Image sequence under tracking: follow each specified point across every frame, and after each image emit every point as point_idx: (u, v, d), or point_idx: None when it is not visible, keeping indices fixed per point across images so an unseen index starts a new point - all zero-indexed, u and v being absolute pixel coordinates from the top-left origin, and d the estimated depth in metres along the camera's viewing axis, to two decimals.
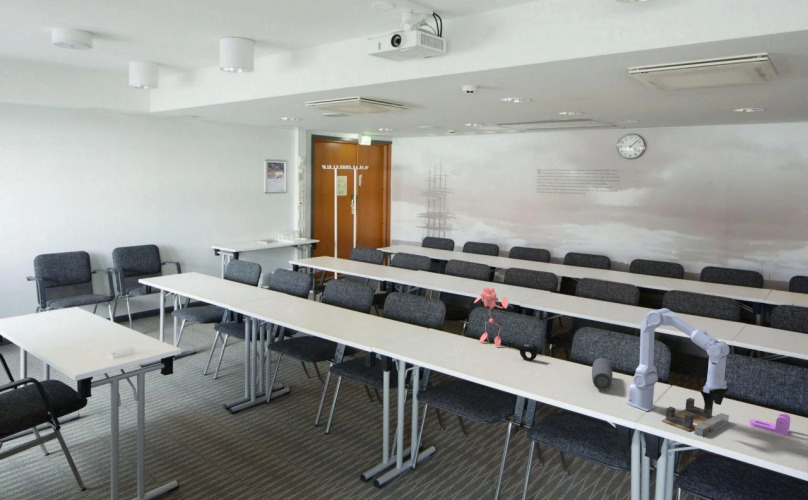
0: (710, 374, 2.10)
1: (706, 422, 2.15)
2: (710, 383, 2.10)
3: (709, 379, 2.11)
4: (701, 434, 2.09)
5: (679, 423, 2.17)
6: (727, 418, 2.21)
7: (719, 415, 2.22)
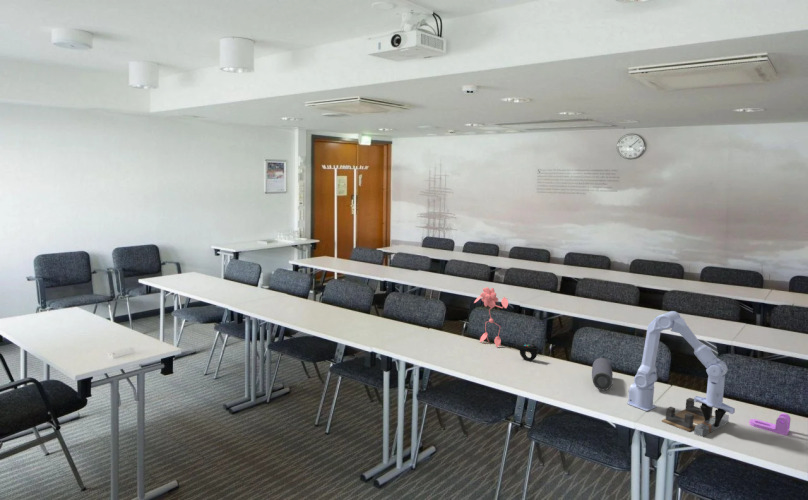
0: None
1: (706, 422, 2.15)
2: None
3: None
4: (701, 434, 2.09)
5: (679, 423, 2.17)
6: (727, 418, 2.21)
7: None
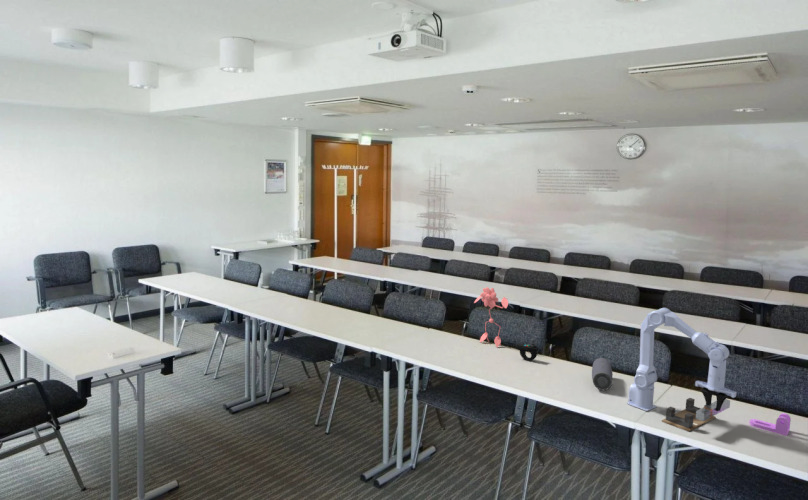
0: None
1: (707, 407, 2.14)
2: None
3: None
4: (702, 418, 2.08)
5: (679, 423, 2.17)
6: (729, 403, 2.21)
7: None
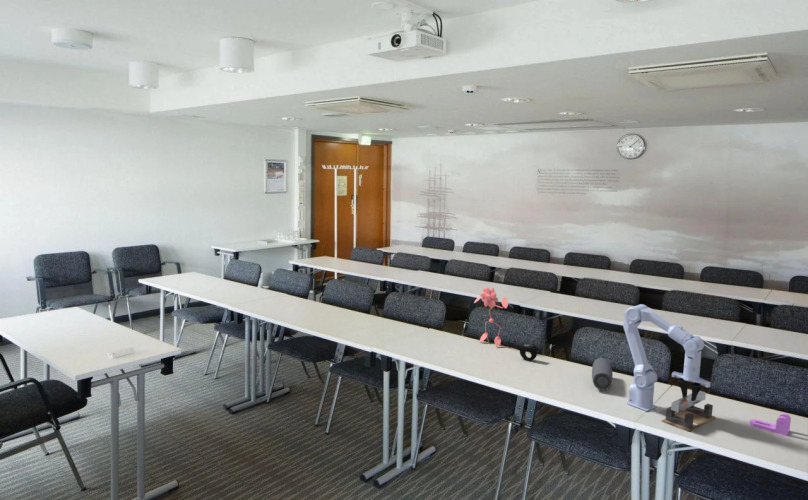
0: None
1: (683, 398, 2.20)
2: None
3: None
4: (677, 410, 2.15)
5: (679, 423, 2.17)
6: (704, 395, 2.27)
7: None
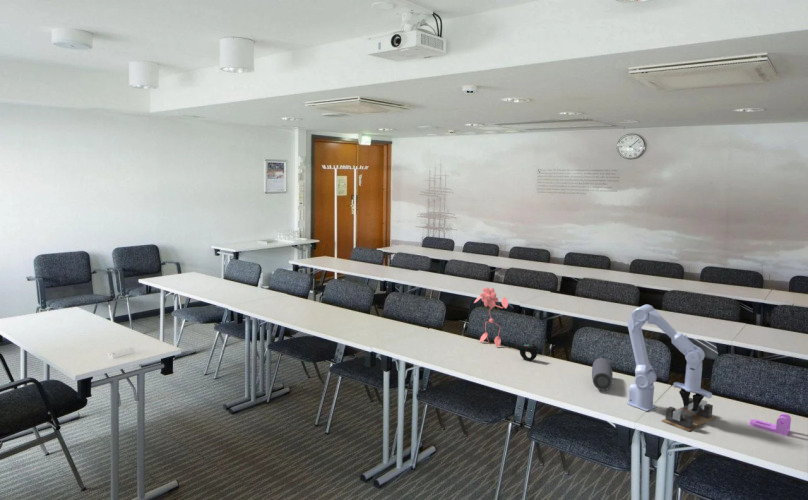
0: None
1: (684, 407, 2.22)
2: None
3: None
4: (679, 419, 2.16)
5: (679, 423, 2.17)
6: None
7: None
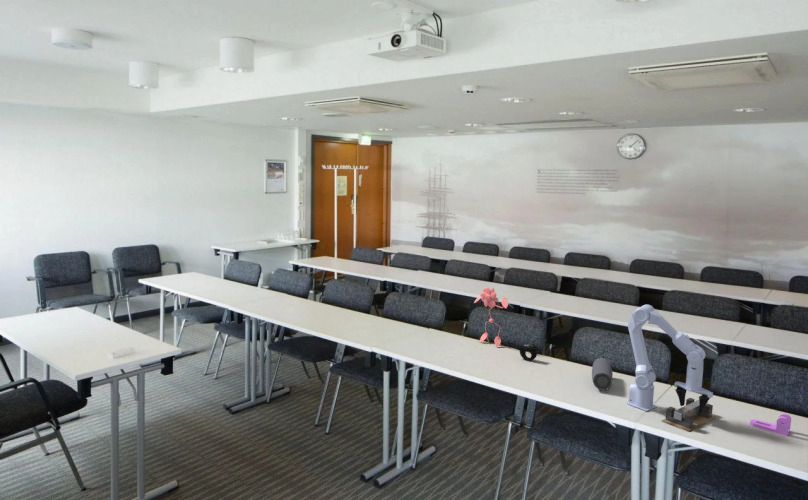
0: None
1: (685, 407, 2.22)
2: None
3: None
4: (680, 418, 2.17)
5: (679, 423, 2.17)
6: None
7: None
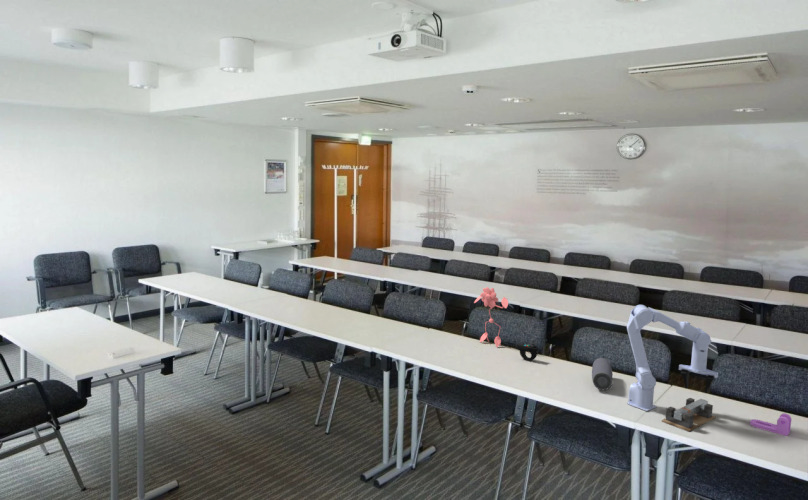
0: None
1: (685, 407, 2.22)
2: None
3: None
4: (680, 418, 2.17)
5: (679, 423, 2.17)
6: None
7: (699, 401, 2.29)
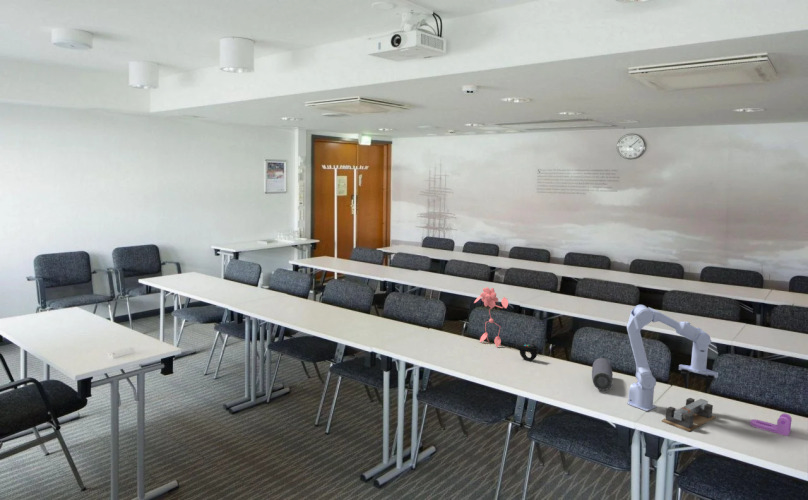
0: None
1: (685, 407, 2.22)
2: None
3: None
4: (680, 418, 2.17)
5: (679, 423, 2.17)
6: None
7: (699, 401, 2.29)
